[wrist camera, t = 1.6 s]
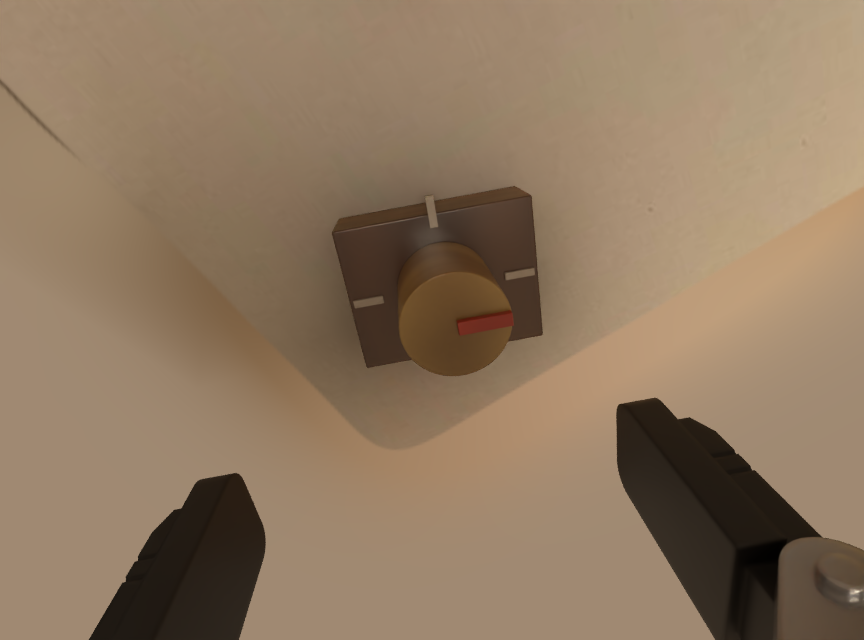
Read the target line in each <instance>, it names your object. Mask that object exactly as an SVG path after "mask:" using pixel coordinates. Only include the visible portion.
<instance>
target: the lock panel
mask: <svg viewBox="0 0 864 640" xmlns="http://www.w3.org/2000/svg"><path fill="white" fill-rule="evenodd" d="M425 201H426V203H422V204H416V205H411V206H405V207H400V208H395V209H389V210H384V211H378V212H373V213H368V214H362V215H357V216H351V217H346V218H341V219H339V220H338V222H337V224H336V226H335V228H334V230H333V232H332V235H333V239H334V243H335V247H336V251H337V255H338V258H339V262H340V266H341V270H342V274H343V278H344V282H345V286H346V290H347V293H348V297H349V301H350V305H351V309H352V313H353V317H354V321H355V324H356V328H357V332H358V336H359V340H360V344H361V348H362V352H363V355H364V359H365V363H366V367H367V368H369V367H374V366H380V365H385V364H390V363H396V362H401V361H406V360H412V359H411V358H410V356H409V355H408V354H407V352H406V351H405V349H404V347H403V345H402V343H401V339H400V335H399V323H398V293H397V284H398V278H399V275H400V272H401V270H402V268H403V266H404V264H405V263H406V261H407V260H408V259H409V258H410V257H411V256H412V255H413V254H414V253H415V252H417V251H418V250H419V249H421V248H423V247H425V246H427V245H430V244H434V243H438V242H453V243H458V244H462V245H464V246H466V247H468V248H470V249H472V250H473V251H474V252H476V253H477V254H478V255H479V256H480V257H481V258H482V260H483V261H484V263H485V264H486V266H487V267H488V269H489V270H490V272H491V274H492V275H493V277H494V278H495V280H496V282H497V283H498V285H499V286H500V288H501V289H502V291H503V293H504V294H505V296H506V298H507V300H508V302H509V304H510V307H511V311H512V313H513V323H514V326H512V330H511V334H510V337H509V340H508V341H514V340H519V339H524V338H530V337H535V336H540V335H542V334H543V332H542V319H541V307H540V294H539V282H538V269H537V257H536V245H535V232H534V220H533V207H532V196H531V195H530V194H528V193H526V192H524V191H523V190H521V189H519V188H517V187H515V186H513V187H508V188H503V189H497V190H492V191H486V192H481V193H476V194H470V195H465V196H459V197H454V198H449V199H443V200H438V201H434V198H433V195H428V196H425Z"/></svg>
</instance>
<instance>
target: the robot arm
mask: <svg viewBox="0 0 864 640" xmlns="http://www.w3.org/2000/svg"><path fill="white" fill-rule="evenodd" d="M616 416H617V417H616V418H617V464H618V471H619V475H620V478H621V481H622V484H623V486H624V488H625V491H626V492H627V494H628V496H629V498H630V499H631V501H632V503H633V504H634V506H635V508H636V509H637V511H638V513H639V514H640V516H641V518H642V519H643V521H644V523H645V524H646V526H647V527H648V529H649V531H650V532H651V534H652V536H653V537H654V539H655V540H656V542H657V544H658V546H659V547H660V549H661V551H662V552H663V554H664V556H665V557H666V559H667V560H668V562H669V564H670V565H671V567H672V569H673V570H674V572H675V574H676V575H677V577H678V579H679V580H680V582H681V584H682V585H683V587H684V589H685V590H686V592H687V594H688V595H689V597H690V599H691V600H692V602H693V603H694V605H695V607H696V608H697V610H698V612H699V613H700V615H701V617H702V618H703V620H704V622H705V623H706V625H707V627H708V628H709V630H710V632H711V633H712V635H713V637H714V638H715V640H864V550H862V549H860V548H857V547H855V546H853V545H850V544H847V543H844V542H841V541H838V540H833V539H829V538H823V537H821V536H820V535H819V534H818V533H817V532H816V531H815V530H814V529H813V528H812V527H811V526H810V525H809V524H808V523H807V522H806V521H805V520H804V519H803V518H802V517H801V516H800V515H799V514H798V513H797V512H796V511H795V510H794V509H793V508H792V507H791V506H790V505H789V504H788V503H787V502H786V501H785V500H784V499H783V498H782V497H781V496H780V495H779V494H778V493H777V492H776V491H775V490H774V489H773V488H772V487H771V486H770V485H769V484H768V483H767V482H766V481H765V480H764V479H763V478H762V477H761V476H760V475H759V474H758V473H757V472H756V471H755V470H753V471H752V469H751V467H750V465H749V464H748V463H747V462H746V461H745V460H744V459H743V458H742V457H741V456H740V455H739V454H736V453H735V451H734V449H733V448H732V447H731V446H730V445H729V444H728V443H727V442H726V441H725V440H724V439H723V438H722V437H721V436H720V435H719V434H718V433H717V432H716V431H714V430H712V429H710V428H708V427H707V426H705V425H703V424H701V423H699V422H697V421H695V420H693V419H691V418H690V417H689V418H684V419H677V418H676V417H675V416H674V415H673V413H672V412H671V411H670V410H669V409H668V408H667V407H666V406H665V405H664V404H663V403H662V402H661V401H660V400H659V399H657V398H651V399H645V400H640V401H635V402H629V403H624V404H619V405H618V407H617V415H616ZM265 543H266V542H265V532H264V528H263V524H262V522H261V519H260V517H259V515H258V513H257V510H256V508H255V506H254V503H253V501H252V499H251V496H250V494H249V492H248V490H247V487H246V485H245V482H244V480H243V478H242V477H241V476H240V475H239V474H237V473H233V474H228V475H223V476H217V477H212V478H206V479H202V480H199V481H197V482H196V484H195V485H194V487H193V489H192V490H191V492H190V494H189V496H188V498H187V500H186V501H185V503H184V505H183V507H182V508H181V509H177V510H174V511H173V512H172V513H171V514H170V515H169V516H168V517H167V518H166V519H165V520H164V521H163V522H162V523H161V524H160V525H159V526H158V527H157V528H156V529H155V530H154V531H153V532H152V534H151V535H150V537H149V539H148V540H147V542H146V544H145V545H144V547H143V549H142V550H141V552H140V554H139V556H138V561H136V562H134V564H133V566H132V567H131V569H130V571H129V573H128V575H127V576H126V582H124V583H122V585H121V586H120V588H119V589H118V591H117V593H116V595H115V596H114V598H113V600H112V601H111V603H110V605H109V606H108V608H107V610H106V611H105V613H104V615H103V617H102V618H101V620H100V622H99V623H98V625H97V627H96V628H95V630H94V632H93V634H92V635H91V637H90V639H89V640H239V637H240V634H241V630H242V627H243V624H244V621H245V617H246V614H247V611H248V607H249V604H250V601H251V598H252V595H253V591H254V588H255V584H256V581H257V578H258V574H259V572H260V568H261V565H262V562H263V558H264V554H265Z"/></svg>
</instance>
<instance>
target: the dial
mask: <svg viewBox="0 0 864 640" xmlns="http://www.w3.org/2000/svg"><path fill="white" fill-rule="evenodd" d="M397 293H398V323H399V335H400V339H401V343H402V345H403V347H404V349H405V351H406V352H407V354H408V355H409V356H410V358H411V359H412V360H413V361H414V362H415V363H417V364H418V365H419V366H421V367H422V368H424V369H426V370H428V371H430V372H433V373H435V374H439V375H445V376H460V375H466V374H470V373H473V372H476V371H478V370H480V369H482V368H484V367H486V366H487V365H489V364H490V363H491V362H493V361H494V360H495V359H496V358H497V357H498V356H499V355H500V353H501V352H502V351H503V349H504V348H505V346H506V344H507V342H508V340H509V337H510V334H511V330H512V326H514V323H513V313H512V311H511V307H510V304H509V302H508V300H507V298H506V296H505V294H504V293H503V291H502V289H501V288H500V286H499V285H498V283H497V282H496V280H495V278H494V277H493V275H492V274H491V272H490V270H489V269H488V267H487V266H486V264H485V263H484V261H483V260H482V258H481V257H480V256H479V255H478V254H477V253H476V252H474V251H473V250H472V249H470V248H468V247H466V246H464V245H462V244H458V243H453V242H438V243H434V244H430V245H427V246H425V247H423V248H421V249H419V250H418V251H417V252H415V253H414V254H413V255H412V256H411V257H410V258H409V259H408V260H407V261H406V263H405V264H404V266H403V268H402V270H401V272H400V275H399V278H398V284H397Z"/></svg>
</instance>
